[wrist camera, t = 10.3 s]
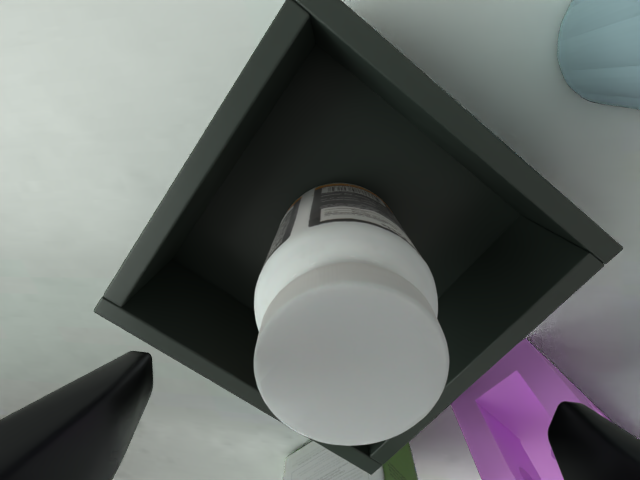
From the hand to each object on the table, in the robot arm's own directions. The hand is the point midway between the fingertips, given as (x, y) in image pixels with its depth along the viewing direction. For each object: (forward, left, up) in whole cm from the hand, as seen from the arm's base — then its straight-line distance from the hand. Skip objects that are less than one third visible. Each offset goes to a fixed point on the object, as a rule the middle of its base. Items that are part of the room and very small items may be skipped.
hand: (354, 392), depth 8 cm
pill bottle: (0, 0, -11) cm, 11 cm away
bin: (0, 0, -11) cm, 11 cm away
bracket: (-2, -18, -11) cm, 21 cm away
